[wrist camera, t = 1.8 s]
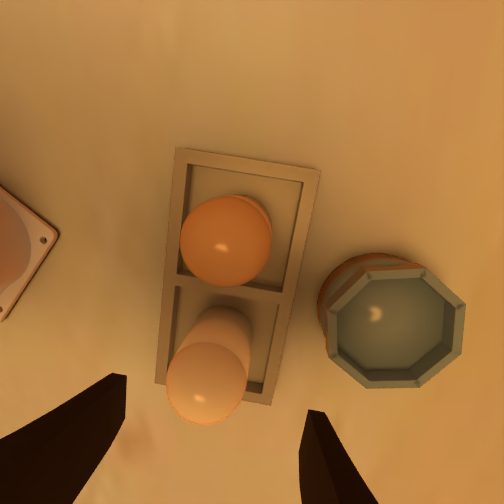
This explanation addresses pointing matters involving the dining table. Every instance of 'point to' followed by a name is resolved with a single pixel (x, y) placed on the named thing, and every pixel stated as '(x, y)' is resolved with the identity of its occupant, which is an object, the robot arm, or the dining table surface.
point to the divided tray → (260, 287)
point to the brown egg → (227, 240)
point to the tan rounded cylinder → (211, 366)
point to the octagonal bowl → (389, 321)
